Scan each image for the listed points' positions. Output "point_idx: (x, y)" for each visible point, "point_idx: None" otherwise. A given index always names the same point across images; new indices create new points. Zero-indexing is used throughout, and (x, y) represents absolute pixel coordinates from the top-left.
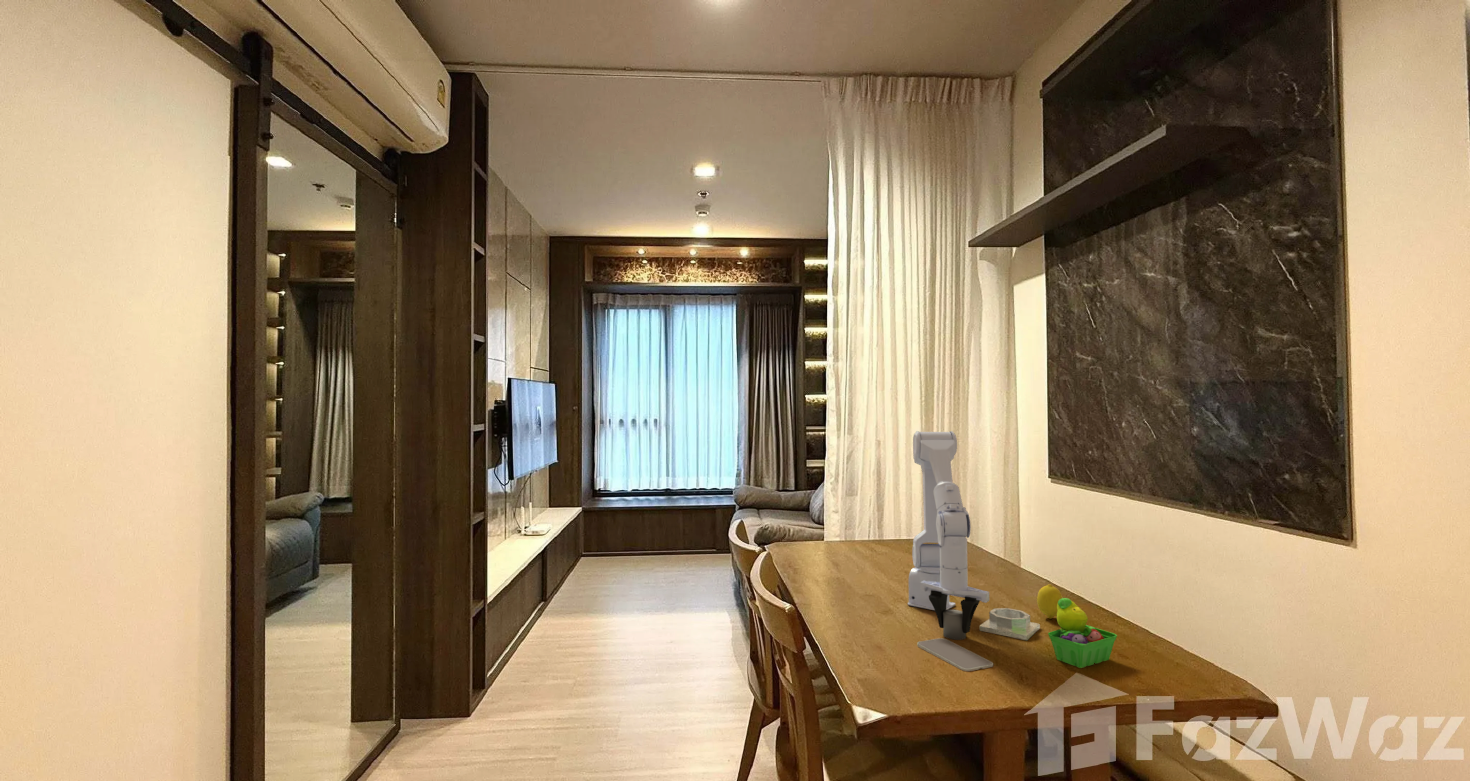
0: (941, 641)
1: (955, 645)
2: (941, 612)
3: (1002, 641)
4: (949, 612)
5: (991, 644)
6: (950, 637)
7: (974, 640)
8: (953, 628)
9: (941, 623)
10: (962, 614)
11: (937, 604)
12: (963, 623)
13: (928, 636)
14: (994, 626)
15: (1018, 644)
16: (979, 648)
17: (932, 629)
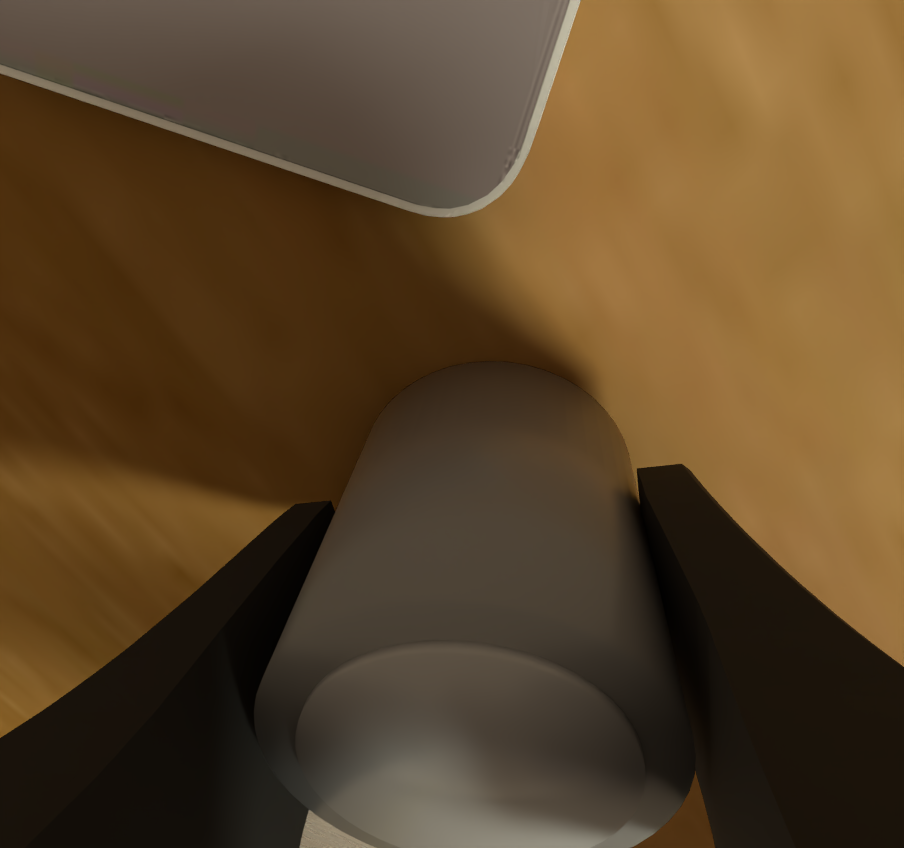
0: (410, 35)
1: (164, 69)
2: (706, 667)
3: (117, 636)
4: (520, 712)
5: (95, 516)
6: (467, 369)
7: (264, 503)
8: (402, 449)
9: (657, 497)
10: (163, 700)
11: (858, 811)
12: (255, 578)
13: (763, 203)
14: (323, 823)
15: (7, 652)
16: (43, 321)
17: (830, 496)
